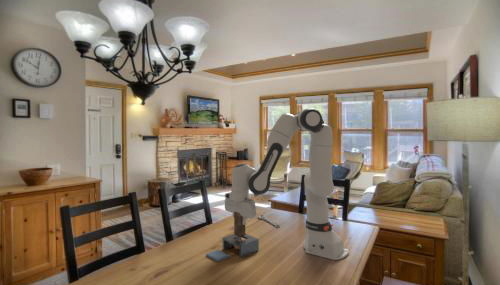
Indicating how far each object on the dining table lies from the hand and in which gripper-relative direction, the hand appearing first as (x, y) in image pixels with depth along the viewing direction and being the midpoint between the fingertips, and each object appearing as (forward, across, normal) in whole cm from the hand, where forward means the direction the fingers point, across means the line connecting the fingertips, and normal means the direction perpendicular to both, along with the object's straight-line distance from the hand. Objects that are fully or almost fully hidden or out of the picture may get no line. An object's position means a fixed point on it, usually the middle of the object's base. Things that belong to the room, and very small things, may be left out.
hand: (239, 223), depth 143 cm
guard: (+14, 0, 0) cm, 14 cm away
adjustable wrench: (+14, +20, -43) cm, 50 cm away
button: (+12, 0, 0) cm, 12 cm away
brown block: (+6, 0, 0) cm, 6 cm away
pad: (+14, +2, +13) cm, 19 cm away
